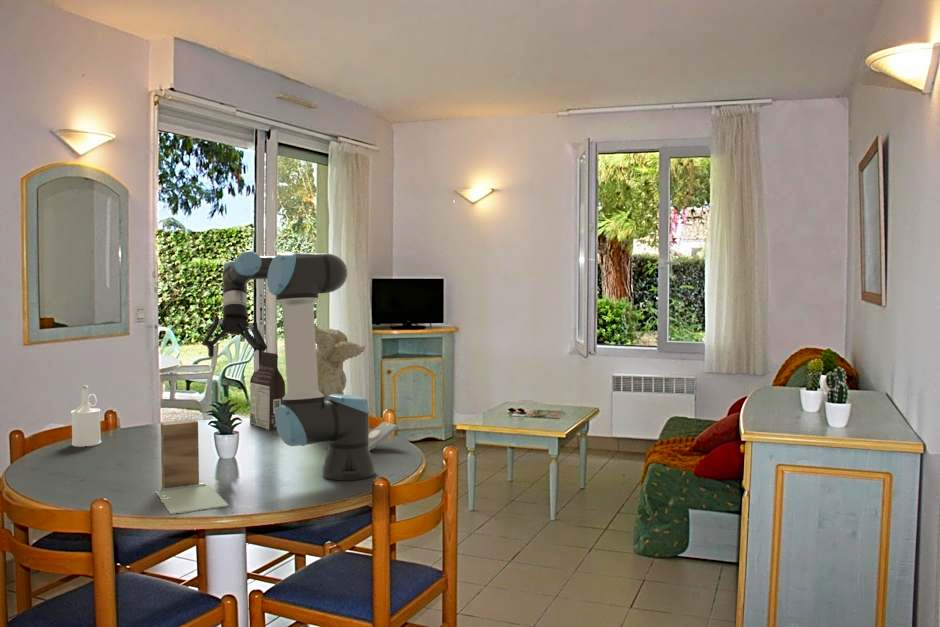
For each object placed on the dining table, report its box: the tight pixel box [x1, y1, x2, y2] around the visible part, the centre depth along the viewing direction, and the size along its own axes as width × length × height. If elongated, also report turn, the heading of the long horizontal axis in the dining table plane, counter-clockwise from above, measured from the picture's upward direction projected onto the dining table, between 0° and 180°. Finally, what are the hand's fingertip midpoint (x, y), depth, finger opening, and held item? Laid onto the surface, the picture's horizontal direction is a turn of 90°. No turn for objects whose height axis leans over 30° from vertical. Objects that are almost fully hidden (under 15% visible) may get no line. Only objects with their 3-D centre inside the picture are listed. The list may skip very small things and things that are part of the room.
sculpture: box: [314, 322, 366, 401], centre depth 298 cm, size 22×24×40 cm
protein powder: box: [249, 351, 286, 431], centre depth 312 cm, size 16×9×28 cm, turn 42°
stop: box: [158, 482, 207, 491], centre depth 224 cm, size 1×12×1 cm, turn 120°
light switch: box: [369, 421, 399, 451], centre depth 275 cm, size 8×6×14 cm
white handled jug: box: [70, 385, 102, 448], centre depth 279 cm, size 10×9×20 cm
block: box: [160, 418, 200, 488], centre depth 226 cm, size 4×9×18 cm, turn 120°
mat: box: [155, 484, 230, 515], centre depth 215 cm, size 22×14×1 cm, turn 30°
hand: (235, 368), depth 260 cm, fingers open, 13 cm apart
